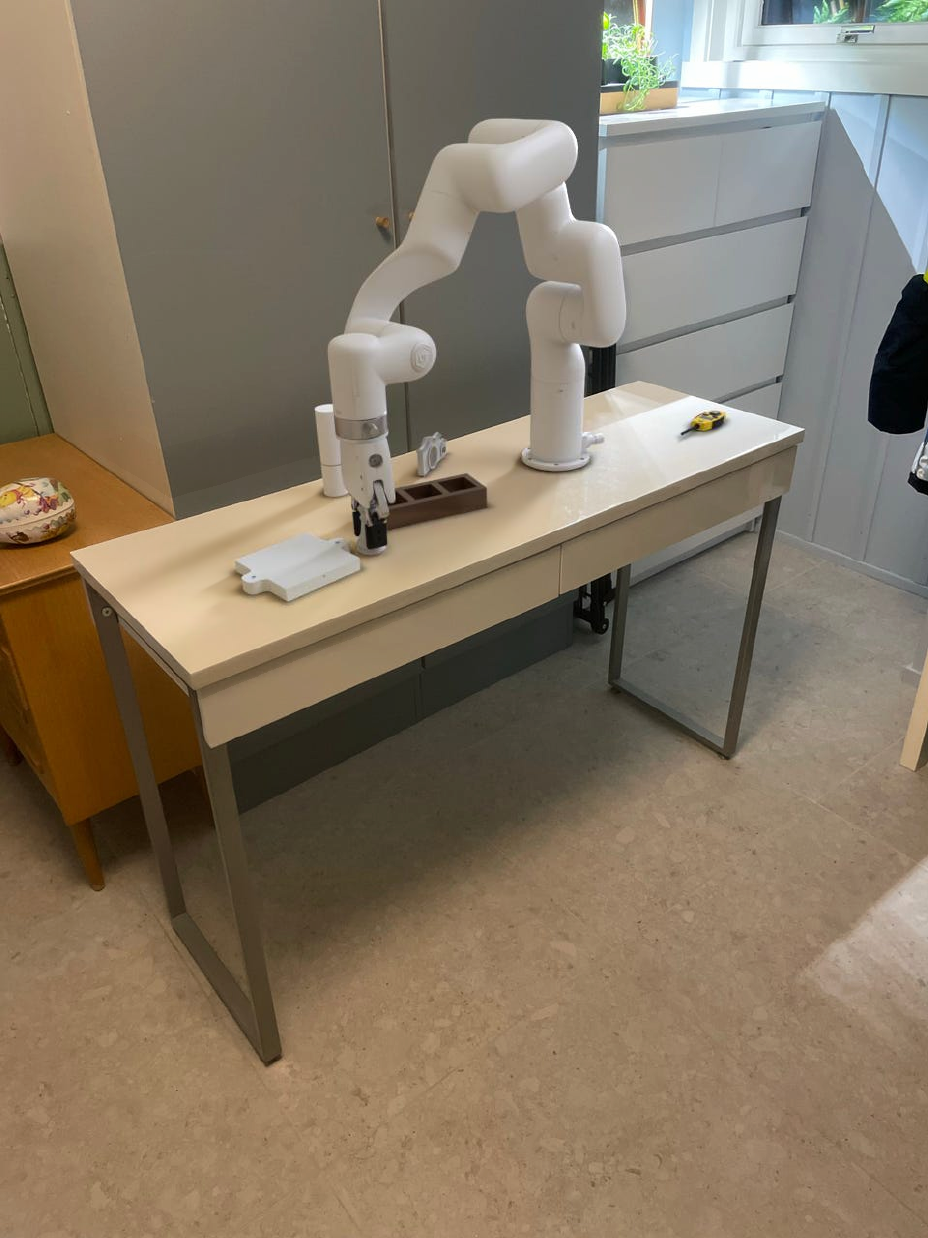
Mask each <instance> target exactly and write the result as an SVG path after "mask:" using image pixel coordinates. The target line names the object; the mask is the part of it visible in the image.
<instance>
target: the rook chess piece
mask: <svg viewBox="0 0 928 1238" xmlns="http://www.w3.org/2000/svg"><path fill="white" fill-rule="evenodd" d="M371 503H375V501H374V500H372V501H370V504H371ZM357 510H358V511H359V512H360V513H361V516H360V517H359V518H360V520H361V533H360V535H359V536H358V539H357V540H356V545H357V546H356V550H357V551H358V552H359V553H360V554H361V555H363V556H369V557H371V556H378V555H381V554H382V553H384V550H385V549H386V548H387V545H386V546H383V547H379V548H375V549H371V550H369V549H368V548H367V546H366V535H365V524H367V521H366V515H365V508H364V506H362V505H361V504H360V503H359V506H358V508H357ZM376 511H377V508H374V509H371V515H372V514H373V513H374V512H376Z"/></svg>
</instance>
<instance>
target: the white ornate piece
mask: <svg viewBox="0 0 928 1238" xmlns="http://www.w3.org/2000/svg"><path fill="white" fill-rule="evenodd" d="M442 435H443V434H441V433H439V432H438V431H436V432H434V433H433V434H432V435H431V436H425V437H423V438H422V441H421V444H420V446H419V448H418V449H416V450H415V453H416V455H417V476H420V477H424V476H426V475H427V474H428V473H429V472H430V471H431V470H434V469H435V468H436V466H437V463H438V462H439V461H440V460H441V459H442V458H443V457H444V456H445V455H446V453H447V441H448V439H446V438H443V437H442ZM441 437H442V438H441Z"/></svg>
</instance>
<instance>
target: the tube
mask: <svg viewBox="0 0 928 1238" xmlns="http://www.w3.org/2000/svg"><path fill="white" fill-rule="evenodd" d="M314 414H315V415H314V416H315V424H316V431H317V432H316V433H317V434H316V435H317V444H318V450H319V451H318V452H319V460H320V471H321V479H322V489H323V495H324V496H326V497H330V498H338V497H339V498H341V497H344V496H346V495H347V494H349V492H348V491H347V490H346V489H345V487H344V483H343V478H342V469H341V455H340V440H338V439H337V438H336V434H335V424H334V413H333V403H328V404H327V403H326V404H320V405H318V406H315V407H314Z"/></svg>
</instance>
